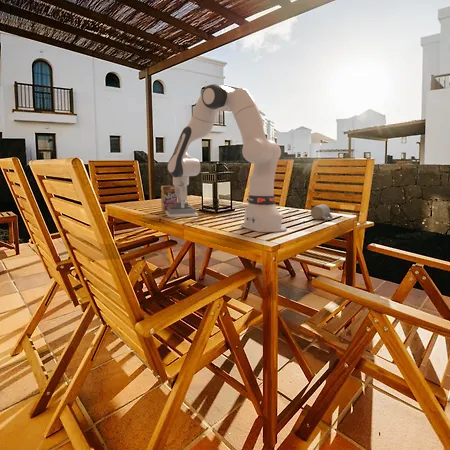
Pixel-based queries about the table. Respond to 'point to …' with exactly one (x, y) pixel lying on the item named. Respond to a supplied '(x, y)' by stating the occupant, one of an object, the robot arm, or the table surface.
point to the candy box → (167, 197)
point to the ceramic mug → (321, 212)
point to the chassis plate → (181, 212)
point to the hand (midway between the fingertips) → (181, 206)
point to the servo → (178, 205)
